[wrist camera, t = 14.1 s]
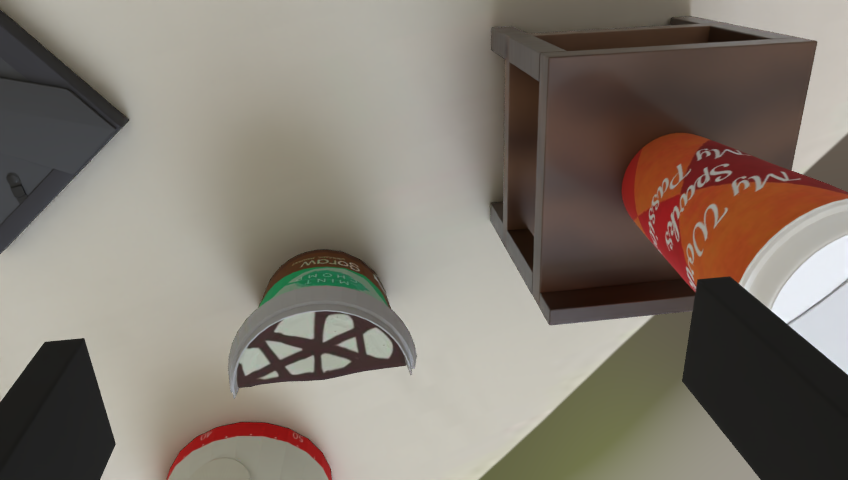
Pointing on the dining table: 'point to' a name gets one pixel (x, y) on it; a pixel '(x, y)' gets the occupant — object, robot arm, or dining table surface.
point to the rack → (626, 147)
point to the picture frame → (43, 128)
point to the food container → (319, 325)
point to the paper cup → (748, 230)
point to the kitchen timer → (250, 455)
